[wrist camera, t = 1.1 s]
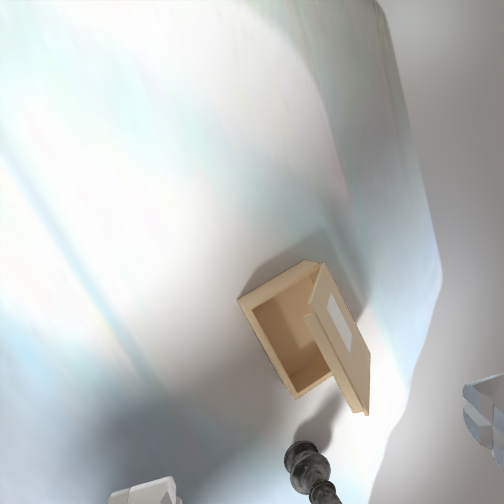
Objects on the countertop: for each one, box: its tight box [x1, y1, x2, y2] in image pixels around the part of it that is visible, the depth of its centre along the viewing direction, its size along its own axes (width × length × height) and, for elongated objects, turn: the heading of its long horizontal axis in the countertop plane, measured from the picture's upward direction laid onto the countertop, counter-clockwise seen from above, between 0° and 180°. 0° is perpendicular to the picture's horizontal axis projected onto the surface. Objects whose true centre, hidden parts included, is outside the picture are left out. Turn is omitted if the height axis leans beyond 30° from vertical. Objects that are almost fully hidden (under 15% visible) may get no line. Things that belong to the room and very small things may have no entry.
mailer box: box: [237, 260, 333, 400], centre depth 50 cm, size 14×11×5 cm
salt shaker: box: [284, 441, 342, 504], centre depth 48 cm, size 6×6×12 cm
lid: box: [303, 262, 370, 416], centre depth 43 cm, size 14×12×1 cm
